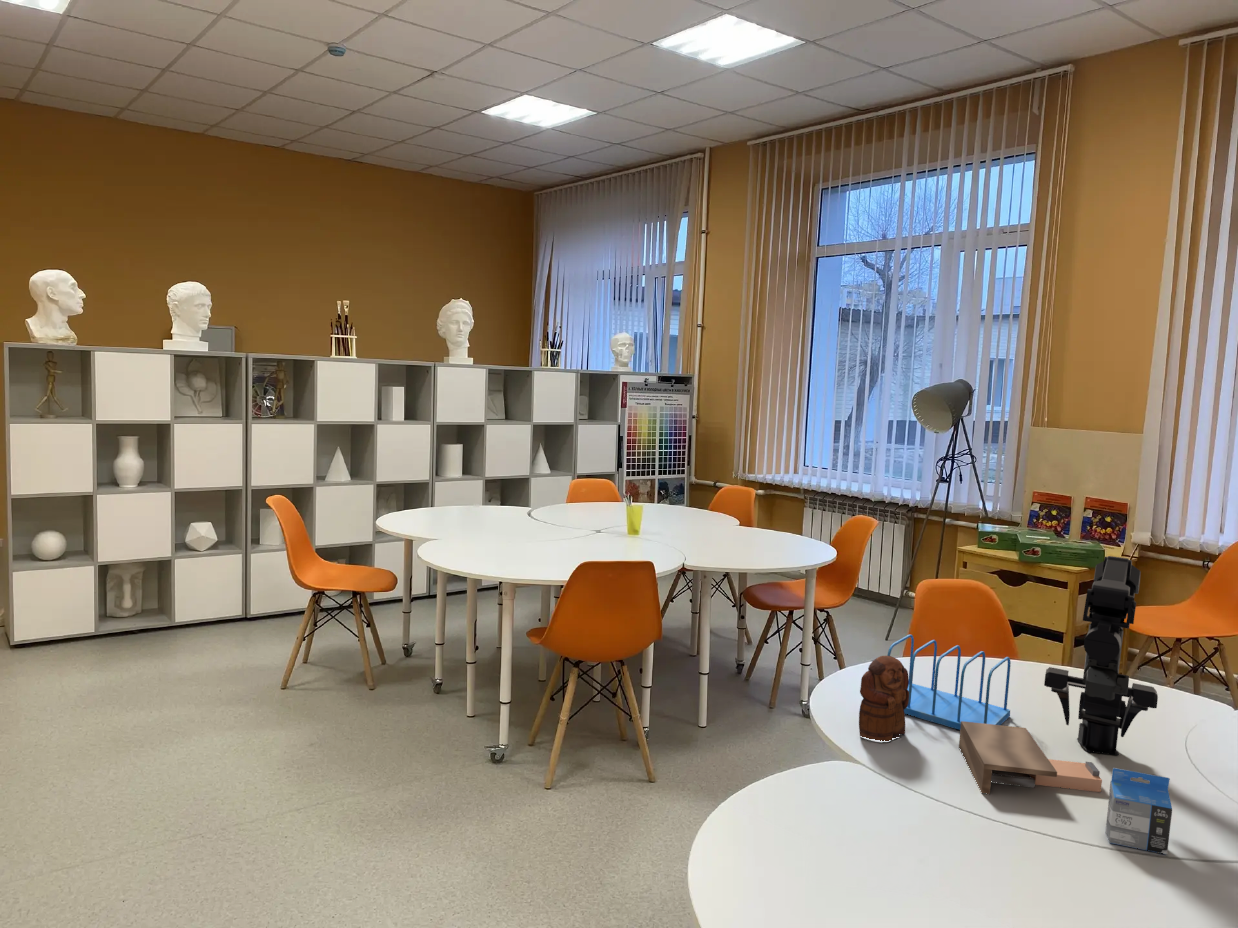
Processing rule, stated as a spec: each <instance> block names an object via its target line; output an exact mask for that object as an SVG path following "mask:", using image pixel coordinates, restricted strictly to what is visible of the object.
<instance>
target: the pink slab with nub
mask: <svg viewBox="0 0 1238 928" xmlns="http://www.w3.org/2000/svg"><path fill="white" fill-rule="evenodd" d="M1048 760H1049V761H1050V763H1051V764H1052V765H1053V767H1054V768H1055V770H1056V771H1057V777H1052V776H1043V775H1034V774H1028V777H1029V778H1030V777H1031V778H1034V779H1035V786H1045V787H1053V788H1060V787H1061V788H1063V789H1069V788H1070V790H1076V791H1077V790H1080V791H1087V792H1095V793H1101V791H1102V785H1103V779H1102V778H1101V777H1100V770H1099V769H1098V767H1097V766H1096V765H1095V764H1094V763H1093V762H1092V761H1085V762H1078V761H1077V762H1076V761H1070V760H1069V761H1068V760H1059V759H1051V758H1048ZM1061 788H1060V789H1061Z"/></svg>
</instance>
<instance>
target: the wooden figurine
mask: <svg viewBox="0 0 1238 928" xmlns="http://www.w3.org/2000/svg"><path fill="white" fill-rule="evenodd" d="M867 669H868V670H867V671H865V672H864V674H863V675H862V677H861V681H860V687H859V688H860V689H859V694H860V696H861V697H862V698H863V699H862V700H861V702H860V704H859V705H860V706H859V711H858V712H859V713H858V727H859V728H858V729H859V737H860V736H862V737H866V738H869V739H875V740H880V741H881V740H882V741H884V740H885V741H889V740H891V741H893V740H892V738H896V737H900V738H901V735H899V734H905V735H906V717H905V716H906V714H905V713H904V709H906V708H907V706H908V702H909V691H908V690H907V689H908V684H909V671H908V670H907V668H906V667H905V666H904V665H903V663H902V662H901V660H899V659H898V658H896V657H894V656H893V655H890V656H887V655H880V656H878V657H876V658H874V659H873V660H872V661H871V663H869V665H868V667H867Z"/></svg>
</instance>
